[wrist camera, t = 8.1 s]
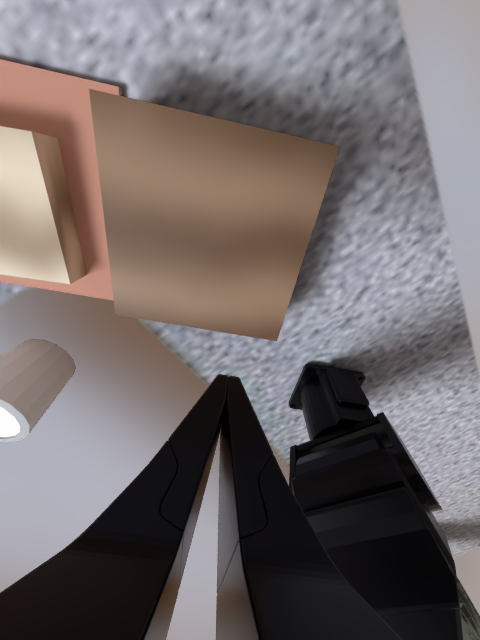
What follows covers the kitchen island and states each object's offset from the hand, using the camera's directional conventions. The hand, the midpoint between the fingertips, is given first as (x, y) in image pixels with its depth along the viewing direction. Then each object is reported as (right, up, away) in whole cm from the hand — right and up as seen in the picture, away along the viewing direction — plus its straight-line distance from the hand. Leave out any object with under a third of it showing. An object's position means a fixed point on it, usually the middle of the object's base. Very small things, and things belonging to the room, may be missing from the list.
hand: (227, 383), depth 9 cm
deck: (-1, +9, +8) cm, 12 cm away
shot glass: (-20, -2, +15) cm, 25 cm away
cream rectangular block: (-15, +9, +5) cm, 18 cm away
